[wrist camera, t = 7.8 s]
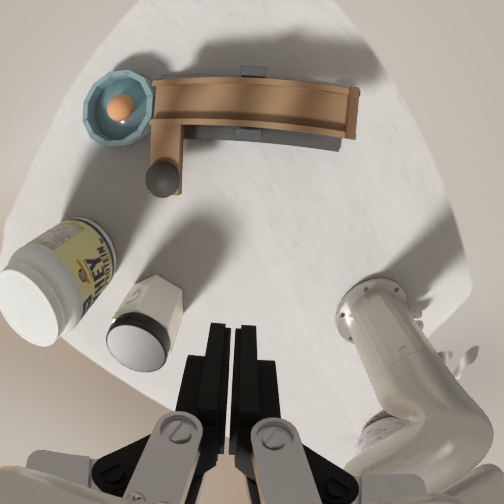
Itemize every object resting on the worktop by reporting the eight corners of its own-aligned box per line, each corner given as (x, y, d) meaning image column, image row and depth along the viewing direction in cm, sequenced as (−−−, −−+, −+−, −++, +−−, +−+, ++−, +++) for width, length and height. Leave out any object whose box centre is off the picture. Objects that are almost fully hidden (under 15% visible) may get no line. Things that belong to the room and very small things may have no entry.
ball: (117, 91, 28) (102, 95, 29) (115, 120, 29) (101, 122, 30) (140, 93, 30) (124, 96, 32) (138, 120, 32) (123, 121, 33)
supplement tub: (120, 292, 43) (74, 364, 28) (59, 279, 43) (4, 337, 27) (119, 219, 39) (54, 273, 23) (53, 210, 38) (-19, 253, 22)
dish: (162, 71, 31) (155, 67, 28) (157, 143, 35) (149, 144, 32) (96, 78, 31) (86, 75, 28) (92, 146, 34) (82, 148, 32)
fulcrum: (343, 89, 32) (366, 81, 25) (337, 151, 36) (359, 157, 28) (162, 76, 31) (141, 64, 24) (158, 138, 35) (135, 141, 27)
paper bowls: (403, 430, 62) (412, 451, 55) (352, 447, 64) (358, 470, 57) (408, 401, 57) (419, 426, 49) (349, 422, 58) (357, 449, 51)
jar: (167, 266, 42) (142, 313, 31) (196, 309, 45) (182, 363, 33) (122, 288, 43) (91, 334, 32) (151, 327, 46) (129, 378, 35)
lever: (356, 93, 25) (362, 88, 22) (341, 215, 30) (345, 224, 27) (157, 83, 28) (142, 79, 25) (152, 193, 33) (138, 199, 30)
